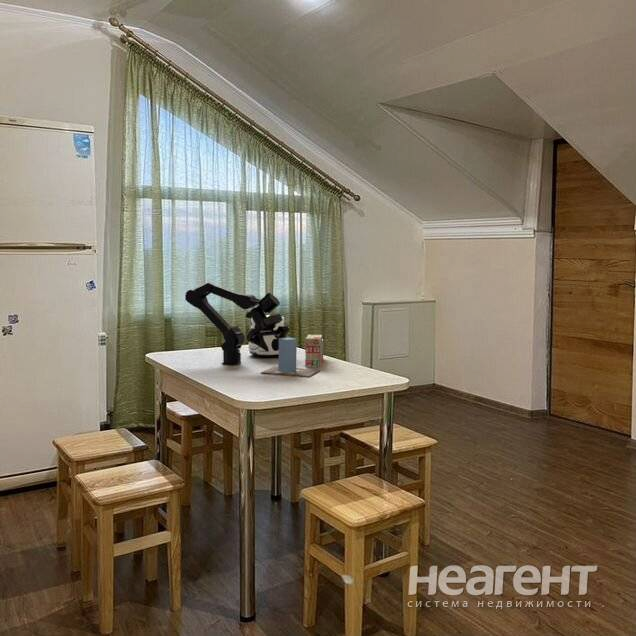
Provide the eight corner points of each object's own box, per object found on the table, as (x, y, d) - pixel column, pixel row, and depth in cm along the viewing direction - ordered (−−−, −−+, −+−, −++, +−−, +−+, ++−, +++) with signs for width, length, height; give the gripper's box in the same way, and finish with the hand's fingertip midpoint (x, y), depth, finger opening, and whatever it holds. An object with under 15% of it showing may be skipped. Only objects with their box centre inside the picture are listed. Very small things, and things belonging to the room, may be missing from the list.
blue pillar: (278, 370, 258) (278, 338, 257) (288, 369, 261) (288, 337, 260) (286, 372, 254) (286, 339, 253) (296, 371, 258) (296, 338, 256)
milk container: (243, 357, 292) (243, 318, 291) (255, 352, 309) (255, 314, 307) (279, 359, 288) (280, 319, 287) (290, 354, 305) (291, 316, 303)
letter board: (260, 373, 255) (260, 372, 255) (273, 367, 268) (273, 366, 268) (309, 377, 249) (309, 375, 249) (319, 371, 262) (320, 369, 262)
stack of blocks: (309, 358, 293) (309, 331, 292) (323, 359, 293) (323, 332, 291) (305, 367, 272) (305, 337, 271) (320, 367, 271) (320, 338, 270)
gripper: (250, 308, 258) (267, 339, 251) (287, 306, 270) (304, 335, 263) (239, 326, 264) (255, 356, 257) (275, 323, 277) (291, 352, 270)
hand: (276, 349), depth 262 cm, fingers open, 9 cm apart
